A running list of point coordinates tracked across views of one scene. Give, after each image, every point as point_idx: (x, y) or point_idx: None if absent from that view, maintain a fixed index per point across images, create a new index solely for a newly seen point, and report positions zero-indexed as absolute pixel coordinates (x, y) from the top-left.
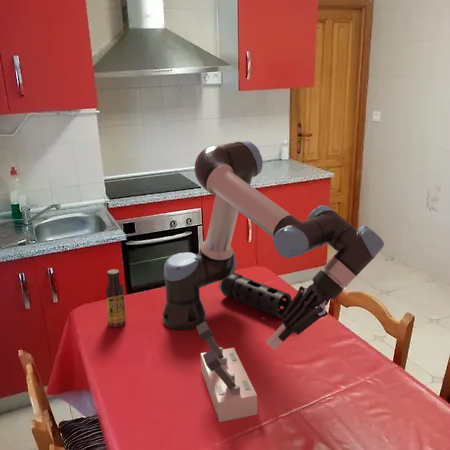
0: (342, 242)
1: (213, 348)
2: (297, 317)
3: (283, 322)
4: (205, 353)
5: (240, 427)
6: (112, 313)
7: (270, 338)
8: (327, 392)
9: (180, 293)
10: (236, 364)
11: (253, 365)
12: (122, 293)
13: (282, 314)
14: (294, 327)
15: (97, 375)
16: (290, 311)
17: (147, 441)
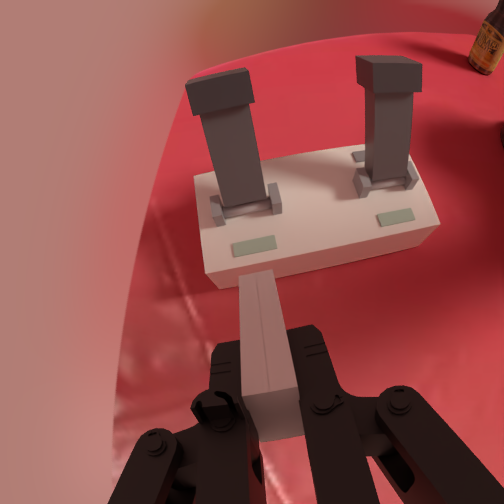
0: None
1: (367, 131)
2: None
3: (308, 394)
4: (245, 68)
5: (184, 247)
6: (475, 42)
7: (262, 290)
8: (284, 481)
9: None
10: (360, 225)
11: (418, 297)
12: (502, 33)
13: (419, 395)
14: (134, 459)
15: (349, 39)
16: (416, 481)
17: (187, 103)
